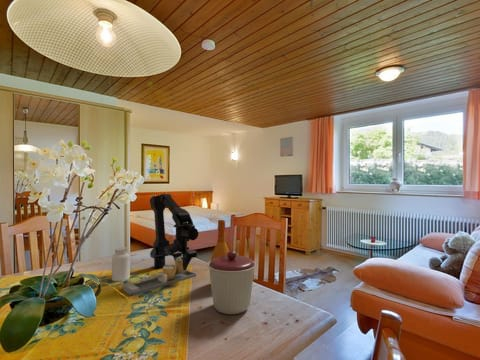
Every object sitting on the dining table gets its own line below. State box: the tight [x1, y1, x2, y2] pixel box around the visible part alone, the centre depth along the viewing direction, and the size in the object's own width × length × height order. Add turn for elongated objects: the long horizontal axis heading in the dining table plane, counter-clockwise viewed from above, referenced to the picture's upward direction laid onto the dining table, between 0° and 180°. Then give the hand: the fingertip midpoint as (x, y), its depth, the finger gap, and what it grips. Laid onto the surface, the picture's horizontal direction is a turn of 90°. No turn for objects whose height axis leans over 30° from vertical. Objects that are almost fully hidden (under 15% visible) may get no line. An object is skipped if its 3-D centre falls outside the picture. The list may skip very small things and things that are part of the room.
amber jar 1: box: [162, 264, 175, 282], centre depth 124 cm, size 6×6×7 cm
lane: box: [122, 269, 197, 297], centre depth 121 cm, size 9×32×3 cm, turn 136°
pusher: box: [139, 271, 167, 283], centre depth 118 cm, size 7×11×4 cm, turn 136°
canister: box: [207, 250, 257, 315], centre depth 98 cm, size 18×18×21 cm
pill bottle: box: [111, 246, 131, 282], centre depth 126 cm, size 8×8×15 cm
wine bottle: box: [210, 219, 230, 261], centre depth 118 cm, size 10×10×30 cm
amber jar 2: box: [174, 257, 188, 274], centre depth 129 cm, size 6×6×7 cm
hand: (181, 269), depth 129 cm, fingers closed on amber jar 2, 6 cm apart
